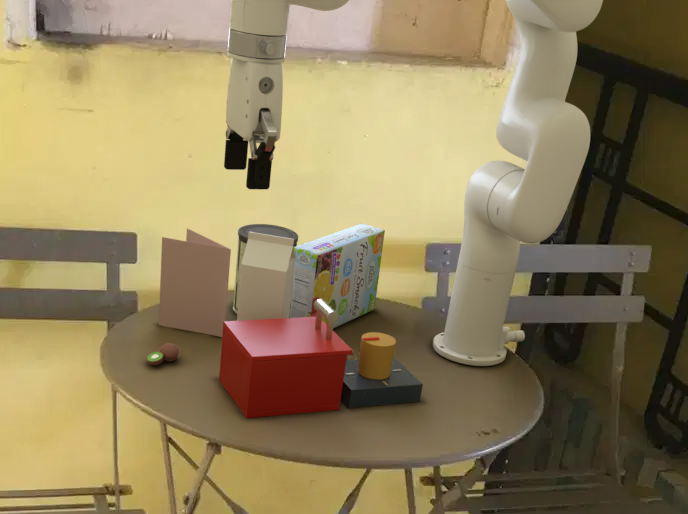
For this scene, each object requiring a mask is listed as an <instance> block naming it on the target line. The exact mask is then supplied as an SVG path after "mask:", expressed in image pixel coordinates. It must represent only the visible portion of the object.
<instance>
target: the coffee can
mask: <svg viewBox="0 0 688 514" xmlns="http://www.w3.org/2000/svg"><path fill="white" fill-rule="evenodd" d="M249 232H255V233H261V234H266V235H272V236H278V237H284V238H290V239H294V243H293V247H295V246H298V242H299V235H298V233H297V232H296V231H294V230H292V229H290V228H287V227H284V226H280V225H275V224H270V223H269V224H268V223H253V224H245V225H243V226H241V227H239V228H238V229H237V236H238V238H237V239H238V240H237V251H236V265H235V279H234V292H233V293H234V294H233V305H232V311H233V312H234V313H235V314H236V315H237V313H238V300H239V288H240V276H241V263H242V260H243V256H244V252H245V248H246V245H247V241H248V235H249Z"/></svg>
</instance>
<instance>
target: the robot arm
mask: <svg viewBox="0 0 688 514" xmlns="http://www.w3.org/2000/svg"><path fill="white" fill-rule="evenodd" d="M349 1H350V0H230V11H229V13H230V15H229V29H228V41H227V42H228V43H227V57H229V58H231V62H230V69H229V76H228V77H229V78H228V85H227V95H226V111H225V116H226V117H225V123H226V125H227V127H226V131H225V146H224V147H225V148H224V161H223V167H224V169H226V170H231V171H233V170H235V171H238V170H240V171H243V170H246V181H245V183H246V184H245V187H246V188H247V189H248V190H269V189H270V185H271V175H272V165H273V160H274V152H275V150H276V144H275V143H276V142H278V141H280V138H281V131H282V130H281V129H282V114H283V113H282V111H283V94H284V93H283V92H284V90H283V88H284V85H283V82H284V81H283V80H284V77H283V63H285V57H286V48H287V47H286V46H287V38H288V35H287V34H288V27H289V17H290V7H291V5H293V6H298V7H303V8H307V9H310V10H311V9H312V10H315V11H321V12H330V11H334V10H335V11H336V10H338V9H340V8H342V7H343V6H345V5H346V4H347V3H348V2H349ZM603 2H604V0H505V4H506V6H507V8H508V10H509V12H510V13H511V15H512V17H513V19H514V21H515V23H516V27H517V31H518V36H519V51H518V58H517V60H516V63H515V68H514V71H513V74H512V77H511V80H510V83H509V87H508V89H507V92H506V95H505V98H504V100H503V104H502V108H501V109H500V110H501V111H500V113H499V117H498V120H497V125H496V129H495V135H496V136H495V137H496V140H497V142H498V145H500V146H501V147H502V149H504V150H505V151H506V152H508V153H509V154H511V155H514V156H515V157H517V158H519V159H521V160H524V161H526V164H525V167H524V168H523V167H521V166H519V165H517V164H514V163H512V162H510V161H506V160H491V161H488V162H485V163H483V164H481V165H480V166H479V167H477V168H476V170H474V171H473V173H472V174H471V176H470V178H469V179H468V182H467V185H466V188H465V192H464V208H463V211H464V212H463V214H464V216H463V231H462V238H461V245H460V248H459V250H460V251H459V255H458V260H457V264H456V269H455V270H456V271H455V275H454V281H453V284H452V285H453V286H452V292H451V295H450V301H449V305H448V312H447V315H446V321H445V326H444V331H443V332H440V333H438V334H436V335H435V336H434V337H433V339H432V348H433V350H434V351H435V353H437V354H438V355H440V356H441V357H443V358H445V359H447V360H449V361H452V362H455V363H458V364H463V365H465V366H466V365H468V366H473V367H474V366H475V367H489V366H496V365H498V364H501V363H503V362H504V361H505V360H506V357H507V348H506V347H505V345H508V344H509V343H518V342H524V340H525V338H526V334H525V331H524V330H522V329H521V330H512V331H511V327H510V326H504V325H505V322H506V321H505V320H506V316H507V312H508V307H509V304H510V303H509V302H510V299H511V298H510V297H511V294H512V289H513V285H514V281H515V277H516V272H517V269H518V264H519V259H520V253H521V243H524V244H529V245H531V244H532V245H533V244H538V243H542V242H544V241H545V240H547V239H548V238H549V237H550V236H552V235H553V234H554V232H556V230H557V229H558V227H559V226H560V224H561V222H562V221H563V218H564V216H565V213H566V212H567V209H568V206H569V204H570V201H571V199H572V197H573V194H574V191H575V188H576V186H577V183H578V180H579V178H580V175H581V172H582V170H583V167H584V165H585V162H586V159H587V156H588V153H589V149H590V144H591V126H590V123H589V120H588V117H587V116H586V114H585V112H583V111H582V109H580V108H579V107H577V106H576V105H574V104H572V103H570V102H567V101H566V99H567V95H568V93H569V89H570V85H571V82H572V78H573V75H574V72H575V68H576V65H577V64H576V63H577V58H578V36H577V32H578V31H581V30H583V29H585V28H587V27H588V26H590V25H592V23H593V21H595V19H596V18H597V17H598V16H599V13H600V11H601V8H602V5H603ZM257 144H258V147H257ZM248 149H249V150H248ZM249 151H250V157H248V152H249Z"/></svg>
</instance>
